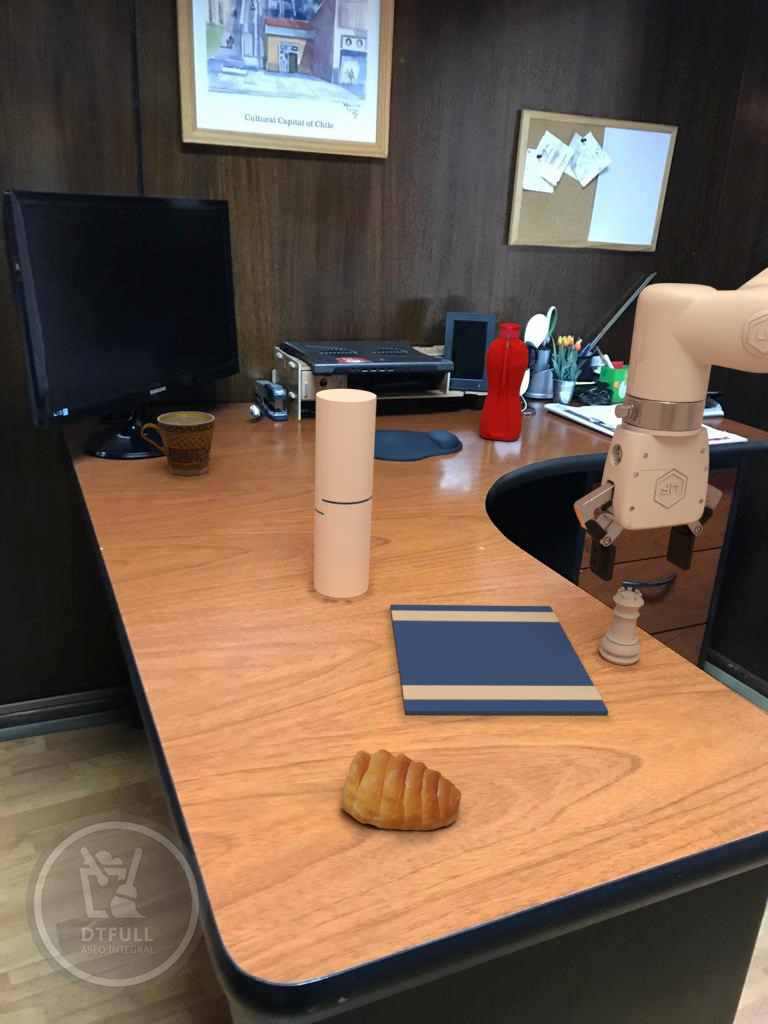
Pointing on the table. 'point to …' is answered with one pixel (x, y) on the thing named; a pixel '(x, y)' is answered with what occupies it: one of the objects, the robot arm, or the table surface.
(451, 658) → the towel
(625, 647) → the rook chess piece
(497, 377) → the water bottle
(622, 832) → the table surface
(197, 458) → the ceramic cup
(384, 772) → the pastry
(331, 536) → the cylindrical container
